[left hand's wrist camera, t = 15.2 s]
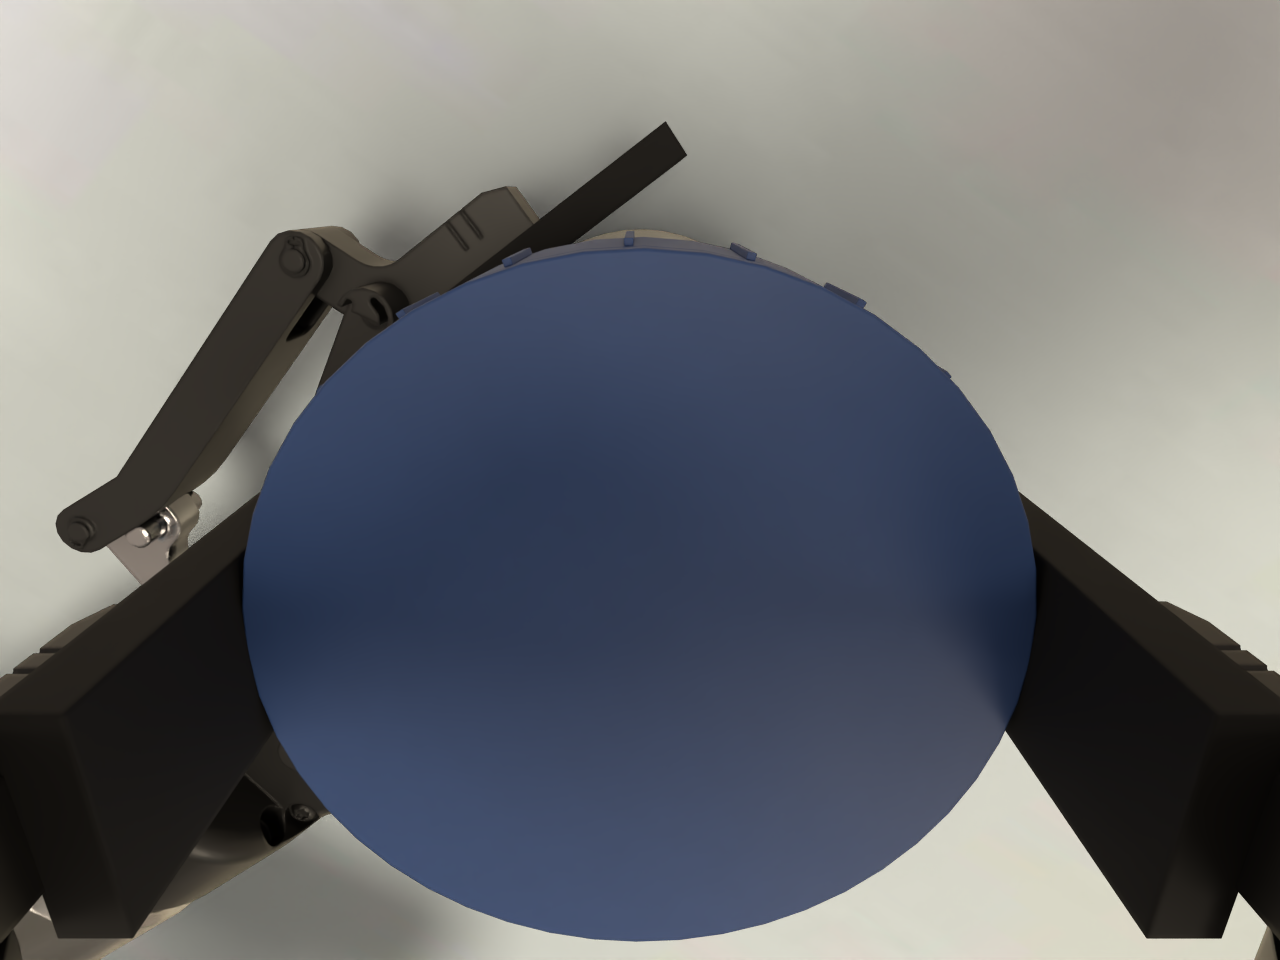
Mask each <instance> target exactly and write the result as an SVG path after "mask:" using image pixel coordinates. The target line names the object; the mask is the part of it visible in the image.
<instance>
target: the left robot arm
mask: <svg viewBox="0 0 1280 960" xmlns="http://www.w3.org/2000/svg"><path fill="white" fill-rule="evenodd" d="M1018 492H1019V491H1018ZM259 495H260V493H258V494H257V495H256V496H254V497H253V498H252V499H251V500H249V501H248V502H247V503H246V504H244V505H243V506H242V507H241V508H239V509H238V510H237V511H235V512H234V513H233V514H232V515H230V516H229V517H228V518H227V519H225V520H224V521H223V522H221V523H220V524H219V525H218V526H216V527H215V528H214V529H213V530H211V531H210V532H209V533H207V534H206V535H205V536H204V537H202V538H201V539H200V540H199V541H197V542H196V543H195V544H193V545H192V546H191V547H190V548H188V549H187V550H186V551H185V552H183V553H182V554H181V555H180V556H178V557H177V558H176V559H174V560H173V561H172V562H171V563H169V564H168V565H167V566H166V567H164V568H163V569H162V570H160V571H159V572H158V573H157V574H155V575H154V576H153V577H152V578H150V579H149V580H148V581H146V582H145V583H144V584H143V585H141V586H140V587H139V588H138V589H136V590H135V591H134V592H132V593H131V594H130V595H129V596H127V597H126V598H125V599H124V600H122V601H121V602H120V603H119V604H113V605H111V606H109V607H107V608H105V609H103V610H101V611H99V612H97V613H95V614H93V615H90V616H88V617H86V618H84V619H82V620H80V621H78V622H76V623H74V624H72V625H70V626H69V627H68V628H66V629H65V630H64V631H62V632H61V633H60V634H58V635H57V636H56V637H55V638H53V639H52V640H51V641H49V642H48V643H47V644H45V645H44V646H43V647H41V648H40V652H39V653H33V654H32V655H31V656H29V657H28V658H27V659H26V660H24V661H23V662H22V663H20V664H19V665H18V666H16V667H15V668H14V669H13V674H6V675H4V676H3V677H2V678H1V679H0V960H22V954H21V948H20V944H19V941H18V939H17V936H16V934H15V931H14V928H15V926H16V925H17V924H18V923H19V922H20V921H21V919H22V918H23V917H24V916H25V915H26V913H27V912H28V911H29V910H30V909H31V908H32V906H33V905H34V904H35V903H36V902H37V901H38V899H39V898H40V897H41V896H43V899H44V901H45V904H46V907H47V910H48V913H49V915H50V918H51V921H52V924H53V926H54V929H55V932H56V935H57V937H58V939H133V937H134V936H135V935H136V933H137V932H138V930H139V929H140V927H141V926H142V924H143V923H144V921H145V920H146V918H147V917H148V915H149V914H150V912H151V911H152V910H153V908H154V907H155V905H156V904H157V902H158V901H159V899H160V898H161V896H162V895H163V893H164V892H165V890H166V889H167V887H168V886H169V885H170V883H171V882H172V880H173V879H174V877H175V876H176V874H177V873H178V871H179V870H180V868H181V867H182V865H183V864H184V862H185V861H186V860H187V858H188V857H189V855H190V854H191V852H192V851H193V849H194V848H195V846H196V845H197V843H198V842H199V840H200V839H201V837H202V836H203V835H204V833H205V832H206V830H207V829H208V827H209V826H210V824H211V823H212V821H213V820H214V818H215V817H216V815H217V814H218V812H219V811H220V810H221V808H222V807H223V805H224V804H225V802H226V801H227V799H228V798H229V796H230V795H231V793H232V792H233V790H234V789H235V787H236V786H237V785H238V783H239V782H240V780H241V779H242V777H243V776H244V774H245V773H246V771H247V770H248V768H249V767H250V765H251V764H252V763H253V761H254V760H255V758H256V757H257V755H258V754H259V752H260V751H261V749H262V748H263V746H264V745H265V743H266V742H267V740H268V739H269V738H270V736H271V735H272V733H273V732H274V729H273V727H272V725H271V723H270V720H269V718H268V716H267V713H266V711H265V709H264V706H263V704H262V702H261V699H260V697H259V694H258V690H257V686H256V683H255V679H254V674H253V670H252V665H251V661H250V656H249V651H248V646H247V640H246V635H245V628H244V619H243V611H242V599H243V569H244V557H245V552H246V547H247V542H248V536H249V531H250V526H251V521H252V515H253V512H254V509H255V506H256V504H257V501H258V498H259ZM1019 495H1020V498H1021V501H1022V504H1023V507H1024V510H1025V513H1026V516H1027V519H1028V523H1029V529H1030V535H1031V541H1032V547H1033V553H1034V559H1035V565H1036V611H1037V616H1036V623H1035V630H1034V637H1033V643H1032V648H1031V653H1030V658H1029V663H1028V668H1027V672H1026V676H1025V680H1024V683H1023V686H1022V690H1021V693H1020V696H1019V700H1018V703H1017V705H1016V707H1015V710H1014V712H1013V714H1012V716H1011V718H1010V721H1009V723H1008V725H1007V727H1006V729H1005V731H1006V732H1007V734H1008V735H1009V737H1010V738H1011V740H1012V741H1013V743H1014V744H1015V746H1016V747H1017V748H1018V750H1019V751H1020V753H1021V754H1022V756H1023V757H1024V759H1025V760H1026V762H1027V763H1028V765H1029V766H1030V768H1031V769H1032V771H1033V772H1034V773H1035V775H1036V776H1037V778H1038V779H1039V781H1040V782H1041V784H1042V785H1043V787H1044V788H1045V790H1046V791H1047V793H1048V794H1049V796H1050V797H1051V798H1052V800H1053V801H1054V803H1055V804H1056V806H1057V807H1058V809H1059V810H1060V812H1061V813H1062V815H1063V816H1064V818H1065V819H1066V821H1067V822H1068V823H1069V825H1070V826H1071V828H1072V829H1073V831H1074V832H1075V834H1076V835H1077V837H1078V838H1079V840H1080V841H1081V843H1082V844H1083V846H1084V847H1085V848H1086V850H1087V851H1088V853H1089V854H1090V856H1091V857H1092V859H1093V860H1094V862H1095V863H1096V865H1097V866H1098V868H1099V869H1100V871H1101V872H1102V873H1103V875H1104V876H1105V878H1106V879H1107V881H1108V882H1109V884H1110V885H1111V887H1112V888H1113V890H1114V891H1115V893H1116V894H1117V896H1118V897H1119V898H1120V900H1121V901H1122V903H1123V904H1124V906H1125V907H1126V909H1127V910H1128V912H1129V913H1130V915H1131V916H1132V918H1133V919H1134V921H1135V922H1136V923H1137V925H1138V926H1139V928H1140V929H1141V931H1142V932H1143V934H1144V935H1145V937H1146V938H1222V936H1223V933H1224V930H1225V927H1226V925H1227V922H1228V919H1229V916H1230V914H1231V911H1232V908H1233V905H1234V903H1235V900H1236V897H1237V894H1238V892H1239V893H1240V894H1241V896H1242V897H1243V898H1244V899H1245V900H1246V901H1247V903H1248V904H1249V905H1250V906H1251V907H1252V908H1253V910H1254V911H1255V912H1256V913H1257V914H1258V915H1259V917H1260V918H1261V919H1262V920H1263V921H1264V922H1265V924H1266V925H1267V929H1266V931H1265V934H1264V936H1263V939H1262V941H1261V944H1260V947H1259V949H1258V952H1257V954H1256V957H1255V960H1280V675H1279V674H1278V673H1276V672H1275V671H1268V670H1267V665H1266V664H1264V663H1263V662H1262V661H1260V660H1259V659H1258V658H1256V657H1255V656H1254V655H1252V654H1251V653H1250V652H1248V651H1247V650H1241V648H1240V645H1239V644H1238V643H1236V642H1235V641H1234V640H1232V639H1231V638H1230V637H1228V636H1227V635H1226V634H1224V633H1223V632H1222V631H1220V630H1219V629H1218V628H1216V627H1215V626H1214V625H1212V624H1211V623H1210V622H1208V621H1206V620H1204V619H1202V618H1200V617H1198V616H1196V615H1194V614H1192V613H1189V612H1187V611H1185V610H1183V609H1181V608H1179V607H1177V606H1175V605H1173V604H1171V603H1168V602H1158V601H1157V600H1156V599H1155V598H1153V597H1152V596H1151V595H1150V594H1148V593H1147V592H1146V591H1144V590H1143V589H1142V588H1141V587H1139V586H1138V585H1137V584H1136V583H1134V582H1133V581H1132V580H1130V579H1129V578H1128V577H1127V576H1125V575H1124V574H1123V573H1122V572H1120V571H1119V570H1118V569H1116V568H1115V567H1114V566H1113V565H1111V564H1110V563H1109V562H1108V561H1106V560H1105V559H1104V558H1103V557H1101V556H1100V555H1099V554H1097V553H1096V552H1095V551H1094V550H1092V549H1091V548H1090V547H1089V546H1087V545H1086V544H1085V543H1083V542H1082V541H1081V540H1080V539H1078V538H1077V537H1076V536H1075V535H1073V534H1072V533H1071V532H1069V531H1068V530H1067V529H1066V528H1064V527H1063V526H1062V525H1061V524H1059V523H1058V522H1057V521H1055V520H1054V519H1053V518H1052V517H1050V516H1049V515H1048V514H1047V513H1045V512H1044V511H1043V510H1042V509H1040V508H1039V507H1038V506H1036V505H1035V504H1034V503H1033V502H1031V501H1030V500H1029V499H1028V498H1026V497H1025V496H1024V495H1022V494H1021V493H1020V492H1019Z"/></svg>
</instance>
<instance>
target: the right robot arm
mask: <svg viewBox="0 0 1280 960" xmlns="http://www.w3.org/2000/svg"><path fill="white" fill-rule="evenodd" d="M686 156H687V154H686V153H685V151H684V149H683V148H682V146H681V145H680V143H679V142H678V140H677V138H676V137H675V135H674V134H673V132H672V131H671V129H670V127H669V126H668V124H667V123H666V121H665V122H664V123H663V124H662V125H660V126H659V127H658V128H657V129H655V130H654V131H653V132H651V133H650V134H649V135H648V136H646V137H645V138H644V139H642V140H641V141H640V142H639V143H637V144H636V145H635V146H633V147H632V148H631V149H630V150H628V151H627V152H626V153H624V154H623V155H622V156H621V157H619V158H618V159H617V160H615V161H614V162H613V163H612V164H610V165H609V166H608V167H606V168H605V169H604V170H603V171H601V172H600V173H599V174H597V175H596V176H595V177H594V178H592V179H591V180H590V181H588V182H587V183H586V184H585V185H583V186H582V187H581V188H579V189H578V190H577V191H576V192H574V193H573V194H572V195H571V196H569V197H568V198H567V199H565V200H564V201H563V202H562V203H560V204H559V205H558V206H556V207H555V208H554V209H553V210H551V211H550V212H549V213H547V214H546V215H545V216H544V217H542V218H541V219H539V218H538V216H537V215H536V214H535V212H534V211H533V209H532V208H531V207H530V205H529V204H528V202H527V201H526V200H525V198H524V197H523V196H522V194H521V193H520V191H519V190H518V189H517V187H508V186H506V187H502V188H498V189H494V190H491V191H487V192H483V193H481V194H480V195H478V196H477V197H476V198H475V199H473V200H472V201H471V202H470V203H468V204H467V205H466V206H465V207H463V208H462V209H461V210H460V211H458V212H457V213H456V214H455V215H453V216H452V217H451V218H450V219H449V220H447V221H446V222H445V223H444V224H442V225H441V226H440V227H439V228H437V229H436V230H435V231H434V232H432V233H431V234H430V235H429V236H427V237H426V238H425V239H424V240H422V241H421V242H420V243H419V244H417V245H416V246H415V247H414V248H412V249H411V250H410V251H409V252H407V253H406V254H405V255H404V256H402V257H401V258H400V259H399V260H397V261H391V260H387V259H384V258H382V257H380V256H378V255H376V254H375V253H373V252H372V251H370V250H369V249H367V248H366V247H364V246H362V245H361V244H360V243H359V241H358V239H357V238H356V237H355V236H354V235H353V234H352V232H350V231H348V230H346V229H344V228H343V227H337V226H327V227H317V228H308V229H298V230H289V231H285V232H282V233H279V234H277V235H276V236H275V237H274V238H273V239H272V240H271V241H270V242H269V244H268V246H267V247H266V249H265V250H264V252H263V253H262V255H261V256H260V258H259V259H258V261H257V262H256V264H255V265H254V267H253V269H252V270H251V272H250V273H249V275H248V276H247V278H246V279H245V281H244V282H243V284H242V285H241V287H240V288H239V290H238V292H237V293H236V295H235V296H234V298H233V299H232V301H231V302H230V304H229V305H228V307H227V308H226V310H225V312H224V313H223V315H222V316H221V318H220V319H219V321H218V322H217V324H216V325H215V327H214V328H213V330H212V331H211V333H210V335H209V336H208V338H207V339H206V341H205V342H204V344H203V345H202V347H201V348H200V350H199V351H198V353H197V354H196V356H195V358H194V359H193V361H192V362H191V364H190V365H189V367H188V368H187V370H186V371H185V373H184V374H183V376H182V377H181V379H180V381H179V382H178V384H177V385H176V387H175V388H174V390H173V391H172V393H171V394H170V396H169V397H168V399H167V400H166V402H165V404H164V405H163V407H162V408H161V410H160V411H159V413H158V414H157V416H156V417H155V419H154V420H153V422H152V423H151V425H150V427H149V428H148V430H147V431H146V433H145V434H144V436H143V437H142V439H141V440H140V442H139V443H138V445H137V446H136V448H135V450H134V451H133V453H132V454H131V456H130V457H129V459H128V460H127V462H126V463H125V465H124V466H123V468H122V469H121V471H120V473H119V474H118V476H117V477H116V478H114V479H112V480H111V481H109V482H108V483H106V484H104V485H103V486H101V487H99V488H98V489H96V490H95V491H93V492H91V493H90V494H88V495H86V496H85V497H83V498H82V499H80V500H78V501H77V502H75V503H74V504H72V505H70V506H69V507H67V508H65V509H64V510H63V511H62V512H61V513H60V514H59V515H58V516H57V520H56V528H57V533H58V534H59V536H60V537H61V539H62V540H63V542H65V543H66V544H67V545H68V546H69V547H71V548H73V549H75V550H78V551H80V552H90V553H91V552H94V551H97V550H100V549H102V548H103V547H105V546H107V547H108V548H109V549H110V550H111V551H112V552H113V553H114V555H115V556H116V557H117V558H118V559H119V560H120V561H121V562H122V564H123V565H124V566H125V567H126V568H127V569H128V570H129V571H130V572H131V574H132V575H133V576H134V577H135V578H136V579H137V580H138V581H139V583H140V584H141V585H143V584H144V583H145V582H146V581H148V580H149V579H150V578H152V577H153V576H154V575H155V574H157V573H158V572H159V571H160V570H162V569H163V568H164V567H166V566H167V565H168V564H169V563H171V562H172V561H173V560H174V559H176V558H177V557H178V556H180V555H181V554H182V553H183V552H185V551H186V550H187V549H188V548H189V547H188V536H189V533H190V531H191V530H192V529H193V528H194V527H195V526H196V524H197V523H198V520H199V510H198V509H200V507H201V505H202V500H201V498H200V496H199V495H198V494H197V493H195V492H194V491H193V490H194V489H195V488H197V487H198V486H200V485H201V484H203V483H204V482H205V481H206V480H207V479H208V478H209V477H211V476H212V475H213V474H214V473H215V472H216V471H217V470H218V468H219V467H220V466H221V465H222V463H223V462H224V461H225V460H226V458H227V457H228V455H229V454H230V453H231V451H232V450H233V448H234V447H235V445H236V444H237V443H238V441H239V440H240V438H241V437H242V435H243V434H244V433H245V431H246V430H247V428H248V427H249V425H250V424H251V422H252V421H253V420H254V418H255V417H256V415H257V414H258V412H259V411H260V410H261V408H262V407H263V405H264V404H265V402H266V401H267V400H268V398H269V397H270V395H271V394H272V392H273V391H274V390H275V388H276V387H277V385H278V384H279V382H280V381H281V380H282V378H283V377H284V375H285V374H286V372H287V371H288V370H289V368H290V367H291V365H292V364H293V362H294V361H295V360H296V358H297V357H298V355H299V354H300V352H301V351H302V350H303V348H304V347H305V345H306V344H307V342H308V341H309V339H310V338H311V337H312V335H313V334H314V332H315V331H316V329H317V328H318V327H319V325H320V324H321V322H322V321H323V319H324V318H325V317H326V315H327V314H328V312H329V311H330V309H331V308H332V307H333V308H334V309H336V310H338V311H339V312H341V313H342V314H344V316H343V319H342V322H341V324H340V327H339V330H338V333H337V336H336V338H335V341H334V344H333V347H332V349H331V352H330V355H329V358H328V360H327V363H326V366H325V369H324V371H323V374H322V377H321V380H320V382H319V385H318V388H319V387H320V386H321V385H322V384H324V383H325V382H326V381H327V380H328V379H329V378H330V377H331V376H332V375H333V374H334V373H335V372H336V371H337V370H338V369H339V368H340V367H341V366H342V365H343V364H344V363H345V362H346V361H347V360H348V359H349V358H350V357H352V356H353V355H354V354H355V353H356V352H357V351H358V350H359V349H360V348H361V347H362V346H363V345H364V344H365V343H366V342H368V341H369V340H370V339H372V338H373V337H375V336H376V335H377V334H379V333H380V332H382V331H383V330H384V329H386V328H387V327H389V326H390V325H392V324H393V323H394V322H396V321H397V320H399V318H398V317H397V315H396V313H397V312H399V311H400V310H402V309H404V308H406V307H408V306H410V305H412V304H414V303H416V302H418V301H420V300H422V299H424V298H426V297H428V296H430V295H432V294H434V293H436V292H438V293H439V294H440V295H442V294H444V293H446V292H448V291H450V290H452V289H454V288H456V287H458V286H460V285H462V284H464V283H465V282H467V281H469V280H471V279H473V278H475V277H477V276H479V275H481V274H483V273H485V272H487V271H489V270H491V269H493V268H495V267H497V266H499V265H501V264H503V262H502V260H503V259H505V258H507V257H509V256H511V255H513V254H515V253H517V252H519V251H521V250H523V249H527V248H531V251H532V254H533V253H536V252H539V251H542V250H545V249H549V248H554V247H559V246H564V245H569V244H572V243H573V242H575V241H576V240H577V239H579V238H580V237H581V236H582V235H584V234H585V233H586V232H588V231H589V230H590V229H592V228H593V227H594V226H596V225H597V224H598V223H600V222H601V221H602V220H603V219H605V218H606V217H607V216H609V215H610V214H611V213H613V212H614V211H615V210H617V209H618V208H619V207H620V206H622V205H623V204H624V203H626V202H627V201H628V200H630V199H631V198H632V197H634V196H635V195H636V194H638V193H639V192H640V191H641V190H643V189H644V188H645V187H647V186H648V185H649V184H651V183H652V182H653V181H655V180H656V179H657V178H659V177H660V176H661V175H662V174H664V173H665V172H666V171H668V170H669V169H670V168H672V167H673V166H674V165H676V164H677V163H678V162H679V161H681V160H682V159H683V158H684V157H686ZM318 388H317V389H318ZM316 393H317V392H316ZM315 395H316V394H315ZM328 814H331V813H330V812H329V811H328V810H327V809H326V808H325V806H324V805H323V804H322V802H321V801H320V800H319V799H318V797H317V796H316V795H315V794H314V792H313V791H312V790H311V789H310V787H309V786H308V785H307V783H306V782H305V781H304V780H303V778H302V777H301V776H300V775H299V773H298V771H297V770H296V768H295V766H294V765H293V763H292V761H291V760H290V758H289V756H288V755H287V753H286V751H285V750H284V748H283V746H282V745H281V743H280V741H279V740H278V738H277V736H276V734H275V732H273V733H272V735H271V736H270V738H269V739H268V740H267V742H266V743H265V745H264V746H263V748H262V749H261V751H260V752H259V754H258V755H257V757H256V758H255V760H254V761H253V763H252V764H251V765H250V767H249V768H248V770H247V771H246V773H245V774H244V776H243V777H242V779H241V780H240V782H239V783H238V785H237V786H236V787H235V789H234V790H233V792H232V793H231V795H230V796H229V798H228V799H227V801H226V802H225V804H224V805H223V807H222V808H221V810H220V811H219V812H218V814H217V815H216V817H215V818H214V820H213V821H212V823H211V824H210V826H209V827H208V829H207V830H206V832H205V833H204V835H203V836H202V837H201V839H200V840H199V842H198V843H197V845H196V846H195V848H194V849H193V851H192V852H191V854H190V855H189V857H188V858H187V860H186V861H185V862H184V864H183V865H182V867H181V868H180V870H179V871H178V873H177V874H176V876H175V877H174V879H173V880H172V882H171V883H170V885H169V886H168V887H167V889H166V890H165V892H164V893H163V895H162V896H161V898H160V899H159V901H158V902H157V904H156V905H155V907H154V908H153V910H152V911H151V912H150V914H149V915H148V917H147V918H146V920H145V921H144V923H143V924H142V926H141V927H140V929H139V930H138V932H137V933H136V935H135V936H134V937H133V939H135V938H137V937H139V936H140V935H142V934H144V933H145V932H147V931H149V930H150V929H152V928H154V927H155V926H157V925H159V924H161V923H162V922H164V921H166V920H167V919H169V918H171V917H172V916H174V915H176V914H178V913H179V912H181V911H182V910H183V909H184V908H185V907H187V906H188V905H189V904H190V903H191V902H193V901H194V900H196V899H198V898H200V897H202V896H204V895H206V894H208V893H209V892H211V891H213V890H214V889H216V888H217V887H219V886H221V885H222V884H224V883H225V882H227V881H229V880H230V879H232V878H233V877H235V876H237V875H238V874H240V873H242V872H243V871H245V870H246V869H248V868H250V867H251V866H253V865H254V864H256V863H258V862H259V861H261V860H262V859H264V858H266V857H267V856H269V855H271V854H272V853H274V852H275V851H277V850H279V849H280V848H282V847H283V846H285V845H286V844H287V843H289V842H290V841H291V840H293V839H294V838H296V837H297V836H298V835H299V834H301V833H302V832H303V831H305V830H306V829H307V828H308V827H310V826H311V825H312V824H313V823H315V822H316V821H317V820H319V819H320V818H321V817H323V816H325V815H328ZM14 931H15V934H16V936H17V939H18V941H19V944H20V948H21V954H22V960H100V959H101V958H103V957H105V956H106V955H108V954H110V953H111V952H113V951H115V950H117V949H118V948H120V947H122V946H123V945H125V944H127V943H128V942H130V941H132V940H133V939H58V937H57V935H56V932H55V929H54V926H53V924H52V921H51V918H50V915H49V913H48V910H47V907H46V904H45V901H44V899H43V896H41V897H40V898H39V899H38V901H37V902H36V903H35V904H34V905H33V906H32V908H31V909H30V910H29V911H28V912H27V913H26V915H25V916H24V917H23V918H22V919H21V921H20V922H19V923H18V924H17V925H16V926H15V928H14Z"/></svg>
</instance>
